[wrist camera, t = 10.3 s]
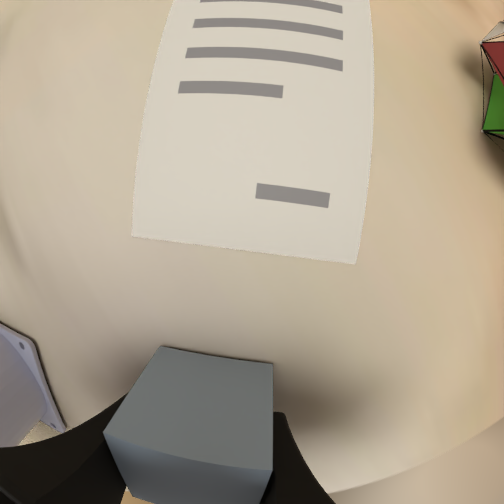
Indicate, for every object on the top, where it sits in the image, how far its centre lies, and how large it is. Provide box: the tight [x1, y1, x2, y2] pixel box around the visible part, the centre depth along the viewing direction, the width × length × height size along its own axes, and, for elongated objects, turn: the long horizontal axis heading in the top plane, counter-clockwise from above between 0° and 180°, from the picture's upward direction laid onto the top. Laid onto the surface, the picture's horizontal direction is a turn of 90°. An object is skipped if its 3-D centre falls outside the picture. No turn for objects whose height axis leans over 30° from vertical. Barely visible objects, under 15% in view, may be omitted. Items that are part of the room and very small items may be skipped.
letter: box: [132, 0, 374, 264], centre depth 8 cm, size 8×12×1 cm, turn 174°
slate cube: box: [103, 346, 273, 504], centre depth 8 cm, size 4×4×5 cm
